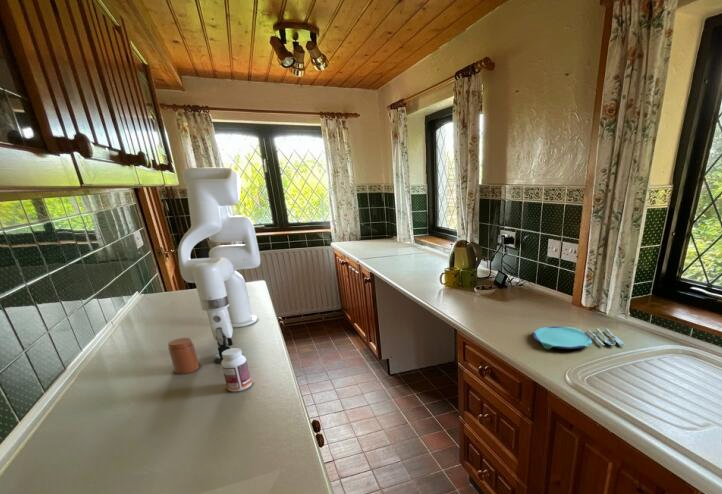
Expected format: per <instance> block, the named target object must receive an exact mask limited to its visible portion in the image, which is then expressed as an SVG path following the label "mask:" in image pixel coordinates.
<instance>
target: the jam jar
mask: <svg viewBox="0 0 722 494" xmlns="http://www.w3.org/2000/svg"><path fill="white" fill-rule="evenodd" d="M167 345H168V347H167V350H168V353H169V356H170V360H171V363H172V366H173V370H174V374H178V375H184V374H185V375H186V374H189V373H192V372H195V371H197V370H199V368H200V363H199V360H198V356H197V352H196V349H195V345H194V342H193V341H192V339H191V338H190V337H181V338H176V339H173V340H171V341H169V342H168V344H167Z"/></svg>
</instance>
